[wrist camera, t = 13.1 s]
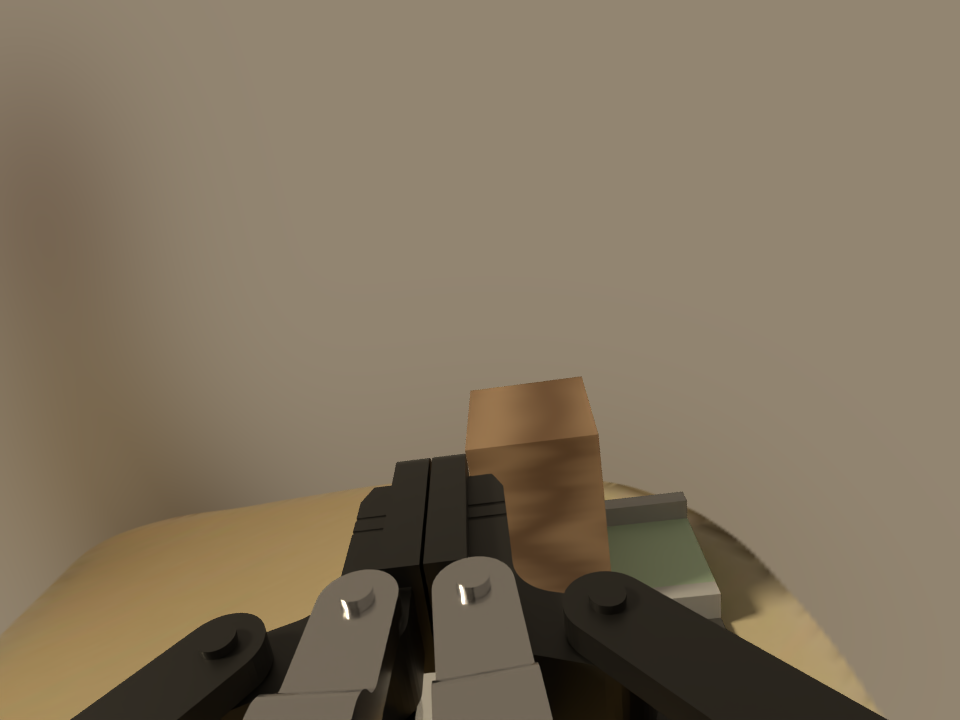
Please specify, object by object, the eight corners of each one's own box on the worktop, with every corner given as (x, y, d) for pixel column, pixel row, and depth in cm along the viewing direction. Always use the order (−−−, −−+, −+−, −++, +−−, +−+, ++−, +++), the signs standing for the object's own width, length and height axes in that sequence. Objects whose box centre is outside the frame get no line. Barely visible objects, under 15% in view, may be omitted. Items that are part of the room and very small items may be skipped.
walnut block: (498, 618, 37) (465, 450, 32) (498, 540, 44) (470, 390, 39) (614, 607, 37) (598, 434, 32) (597, 529, 43) (581, 376, 38)
